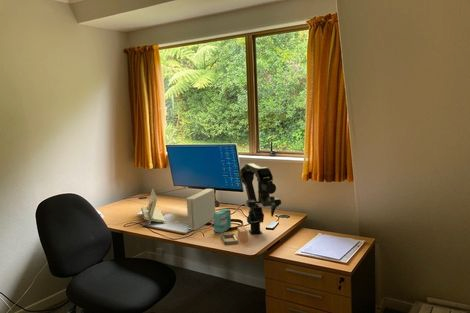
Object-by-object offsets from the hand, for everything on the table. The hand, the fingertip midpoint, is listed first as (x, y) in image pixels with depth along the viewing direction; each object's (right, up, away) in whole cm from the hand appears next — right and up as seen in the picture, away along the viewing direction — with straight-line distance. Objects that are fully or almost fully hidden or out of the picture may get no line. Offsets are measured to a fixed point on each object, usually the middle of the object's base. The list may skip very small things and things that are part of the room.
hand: (264, 217), depth 205 cm
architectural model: (-73, -9, +50) cm, 88 cm away
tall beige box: (-12, -13, +5) cm, 18 cm away
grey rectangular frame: (-19, -13, +3) cm, 24 cm away
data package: (-24, -11, +20) cm, 33 cm away
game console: (-38, -10, +35) cm, 52 cm away
